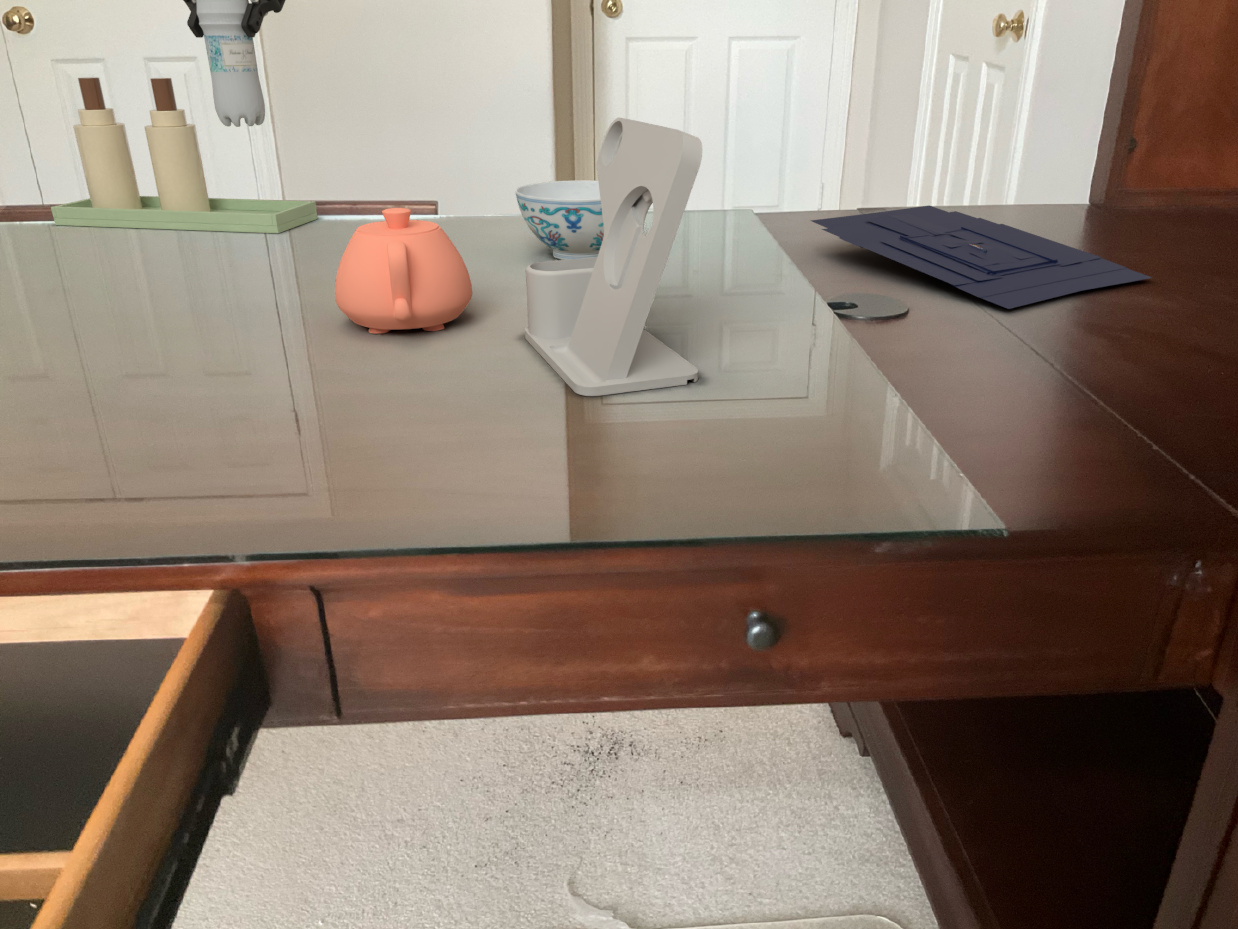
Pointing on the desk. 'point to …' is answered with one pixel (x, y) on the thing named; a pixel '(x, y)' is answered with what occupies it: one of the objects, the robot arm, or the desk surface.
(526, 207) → the chinaware
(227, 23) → the bottle
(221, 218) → the tray
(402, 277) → the orange teapot
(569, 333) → the phone holder
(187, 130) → the stoneware bottle
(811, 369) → the desk surface
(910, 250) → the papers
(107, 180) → the stoneware bottle
